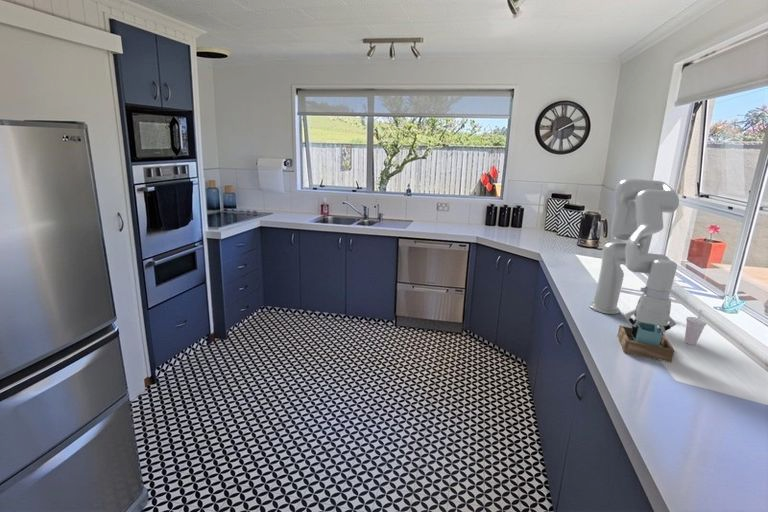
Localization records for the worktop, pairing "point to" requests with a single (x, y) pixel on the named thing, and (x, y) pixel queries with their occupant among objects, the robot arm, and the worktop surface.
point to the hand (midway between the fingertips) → (645, 337)
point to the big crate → (645, 346)
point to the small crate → (648, 334)
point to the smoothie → (694, 329)
